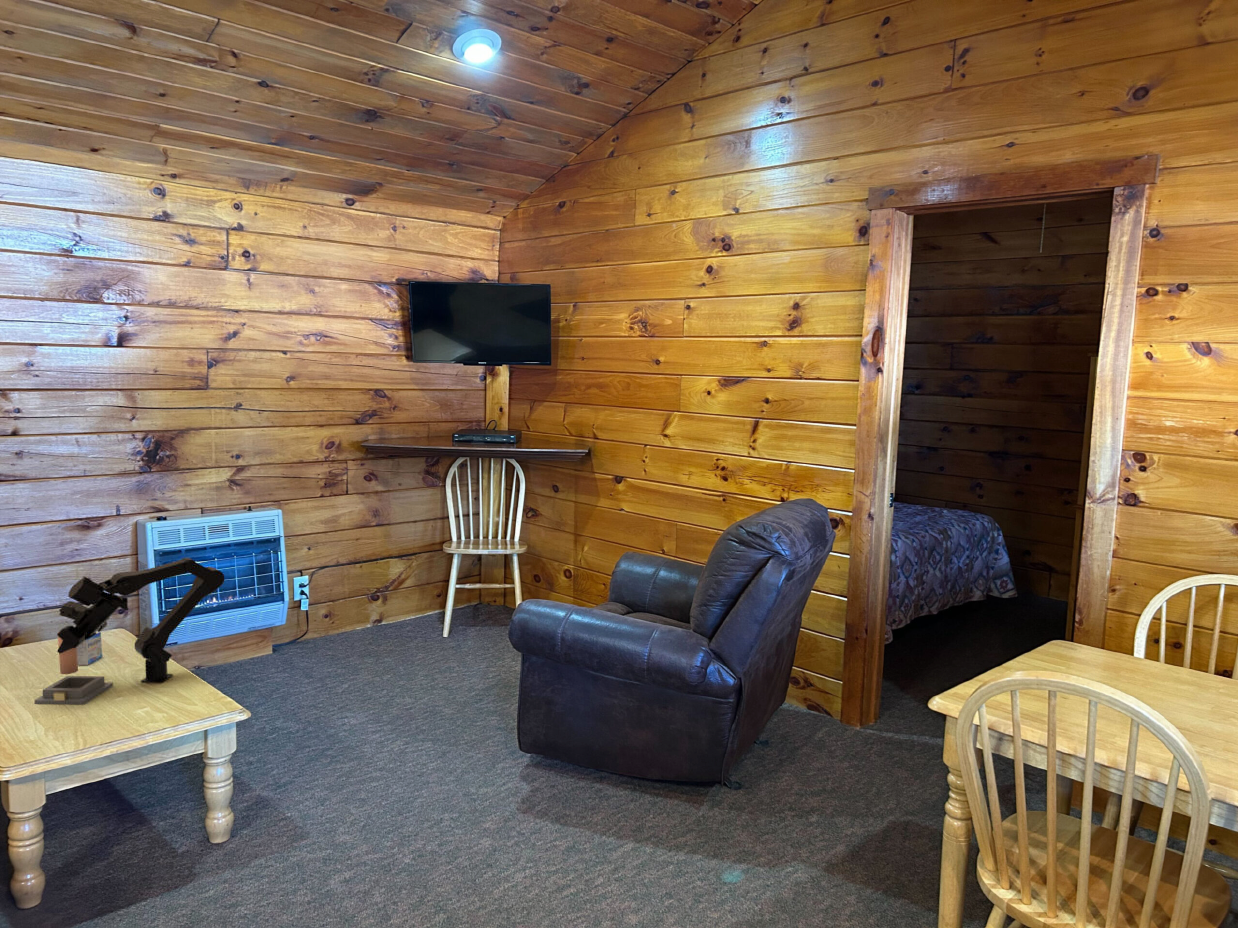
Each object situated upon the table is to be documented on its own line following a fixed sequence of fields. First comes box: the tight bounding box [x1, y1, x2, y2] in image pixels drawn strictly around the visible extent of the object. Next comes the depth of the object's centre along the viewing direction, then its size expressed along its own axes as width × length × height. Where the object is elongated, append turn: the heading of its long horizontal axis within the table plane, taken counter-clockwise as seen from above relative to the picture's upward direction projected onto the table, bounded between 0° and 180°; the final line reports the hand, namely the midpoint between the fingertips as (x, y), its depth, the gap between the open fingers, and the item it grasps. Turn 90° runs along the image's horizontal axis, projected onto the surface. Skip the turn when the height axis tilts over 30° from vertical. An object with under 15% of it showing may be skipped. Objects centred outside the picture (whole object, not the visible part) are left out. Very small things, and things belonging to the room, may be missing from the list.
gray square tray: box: [33, 675, 114, 705], centre depth 256 cm, size 14×14×4 cm
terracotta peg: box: [57, 630, 79, 675], centre depth 257 cm, size 4×4×12 cm
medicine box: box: [77, 631, 103, 666], centre depth 284 cm, size 8×4×9 cm, turn 179°
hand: (62, 649), depth 257 cm, fingers closed on terracotta peg, 4 cm apart
